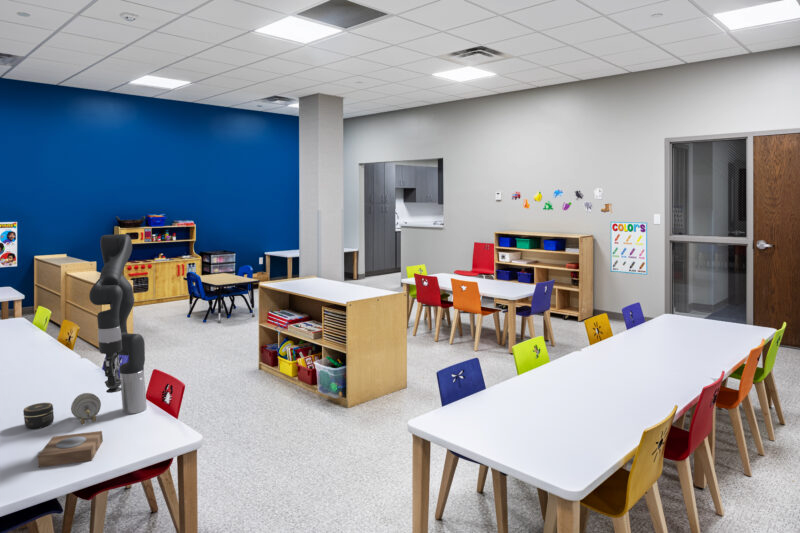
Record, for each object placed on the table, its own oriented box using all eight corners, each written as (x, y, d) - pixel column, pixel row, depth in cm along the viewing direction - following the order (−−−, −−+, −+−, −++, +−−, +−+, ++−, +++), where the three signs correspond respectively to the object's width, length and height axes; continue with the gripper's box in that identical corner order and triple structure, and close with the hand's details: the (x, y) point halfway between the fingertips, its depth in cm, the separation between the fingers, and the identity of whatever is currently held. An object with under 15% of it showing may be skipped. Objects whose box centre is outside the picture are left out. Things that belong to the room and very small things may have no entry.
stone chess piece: (106, 388, 205) (103, 357, 203) (123, 386, 207) (121, 355, 205) (104, 393, 199) (101, 362, 198) (122, 391, 201) (119, 360, 200)
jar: (18, 428, 215) (16, 410, 215) (41, 418, 225) (40, 401, 224) (37, 431, 213) (35, 412, 212) (60, 421, 222) (58, 403, 221)
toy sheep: (97, 411, 232) (95, 386, 231) (106, 423, 219) (104, 396, 218) (69, 417, 226) (66, 391, 224) (76, 430, 213) (73, 403, 211)
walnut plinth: (53, 447, 198) (52, 435, 198) (102, 441, 203) (101, 430, 202) (38, 467, 183) (37, 455, 183) (91, 460, 188) (90, 448, 187)
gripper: (103, 335, 206) (106, 378, 208) (93, 344, 193) (97, 390, 195) (125, 333, 208) (128, 376, 211) (117, 343, 195) (120, 388, 197)
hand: (113, 383), depth 203 cm, fingers closed on stone chess piece, 6 cm apart
